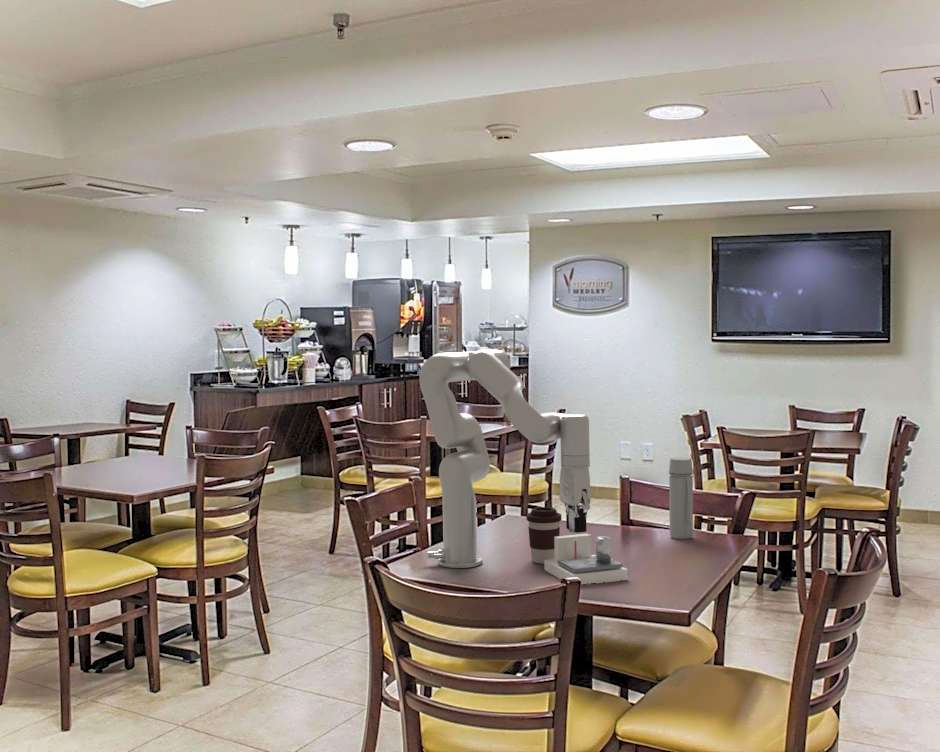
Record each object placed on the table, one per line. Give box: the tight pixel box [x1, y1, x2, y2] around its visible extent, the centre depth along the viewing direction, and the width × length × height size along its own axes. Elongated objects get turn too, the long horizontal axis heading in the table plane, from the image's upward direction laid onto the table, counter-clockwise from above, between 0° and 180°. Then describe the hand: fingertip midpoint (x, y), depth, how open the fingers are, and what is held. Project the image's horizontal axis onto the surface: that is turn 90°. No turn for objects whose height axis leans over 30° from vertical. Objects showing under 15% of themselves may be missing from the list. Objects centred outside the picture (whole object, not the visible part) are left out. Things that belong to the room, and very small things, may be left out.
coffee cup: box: [526, 506, 563, 565], centre depth 259 cm, size 10×10×15 cm
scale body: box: [544, 533, 629, 585], centre depth 244 cm, size 16×18×9 cm
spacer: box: [568, 507, 582, 533], centre depth 240 cm, size 4×4×6 cm
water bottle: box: [668, 456, 695, 540], centre depth 286 cm, size 9×8×25 cm
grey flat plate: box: [558, 556, 623, 573], centre depth 242 cm, size 14×10×1 cm
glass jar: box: [595, 535, 613, 562], centre depth 243 cm, size 4×4×6 cm
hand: (576, 529), depth 240 cm, fingers closed on spacer, 4 cm apart
